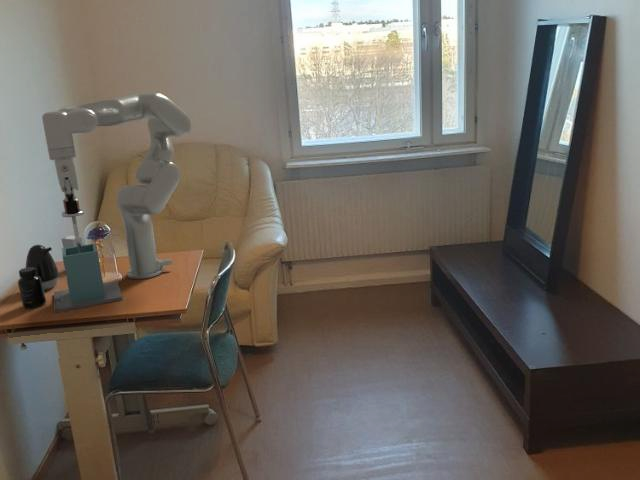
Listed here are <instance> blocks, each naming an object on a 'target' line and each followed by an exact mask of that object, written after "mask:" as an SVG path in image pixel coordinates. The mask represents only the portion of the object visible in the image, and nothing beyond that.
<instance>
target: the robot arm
mask: <svg viewBox="0 0 640 480" xmlns="http://www.w3.org/2000/svg"><path fill="white" fill-rule="evenodd" d="M41 118H42V125H43V130H44V135H45V140H46V145H47V146H46V147H47V150H48V151H47V152H48V157H49V161H54V166H55V171H56V175H57V180H58V184H59V186H60V190H61V192H62V193H64V199H66V202H65V204H66V209H67V214H68V215H69V214H76V213H78V207H77V201H76V200H75V198H77V197H76V196H75V190H76V191H78V190H79V184H78V177H77V172H76V167H75V161H74V159H75V158H77V154H76V148H75V143H74V137H73V134H87V133H90V132H92V131H94V130H95V129H96V128H97V127H115V126H121V125H124V124H125V125H126V124H129V123H132V122H136V121H137V122H138V121H141V120H146V119H147V129H148V132H149V136H150V146H149V149H148V150H147V151H146V153H145V156H144V157H143V159H142V160H141V162H140V163H139V164H138V166H137V169H136V171H135V175H134V176H135V177H134V178H135V180H136V182H137V183H138V184H126V185H124V186H122V187H121V188H120V189H119V190H118V191H117V195H116V204H117V208H118V210H119V212H120V215H121V219H122V222H123V223H122V224H123V229H124V235H125V242H126V247H127V254H128V255H127V257H128V262H129V268H130V269H128V270H127V271H126V276H127V278H129V279H133V280H141V279H149V278H153V277H156V276H158V275H161V274H162V273H164V271H165V270H164V266H170V265H173V262H172V259H171V258H170V259H167V258H163V259H159V257H158V254H157V245H156V240H155V233H154V226H153V221H152V218H151V216H153V215H157V214H159V213H161V212H162V211H163V210H164V208H165V206H166V205H167V204H168V202H169V200H170V198H171V197H172V195H173V193H174V191H175V190H176V188H177V186H178V184H179V181H180V170H179V167H178V166H177V164H176V163H174V162H172V159H173V158H174V153H175V151H174V149H175V148H174V146H173V141H172V137H173V138H181V137H184V136H187V135H188V134H189V133H190V131H191V129H192V123H191V119H190V116H189V115H188V114H187V113H186V112H185V111H184V110H182V108H181V107H179V106H178V105H177V104H176V103H174V101H172V100H171V99H170V98H169V97H167V96H165V95H163V94H161V93H159V92H144V93H143V92H142V93H141V92H140V93H135V94H130V95H129V94H128V95H125V96H121V97H115V98H111V99H110V98H109V99H103V100H98V101H94V102H90V103H89V102H87V103H83V104H77V105H72V106H68V107H63V108H60V109H59V110H56V111H48V112H45V113H43V114H42V117H41ZM73 200H74V201H73ZM150 215H151V216H150Z"/></svg>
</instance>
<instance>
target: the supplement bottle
mask: <svg viewBox="0 0 640 480" xmlns="http://www.w3.org/2000/svg"><path fill="white" fill-rule="evenodd" d="M18 274H19V279H18V281H17V286H18V290H19V295H20V298H21V302H22V303H21V304H22V307H23V308H24V309H28V310H30V309H31V310H32V309H37V308H40V307H42V306H44V305H46V302H47V299H46V296H45V290H44V289H43V285H42V280H41V277H40V276H38V275H36V274H37V272H36V269H35V268H34V267H28V268H26V267H23V268H21V269H20V270H18Z"/></svg>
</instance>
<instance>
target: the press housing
mask: <svg viewBox="0 0 640 480" xmlns="http://www.w3.org/2000/svg"><path fill="white" fill-rule="evenodd" d="M81 249H82V253H79V254H78V250H77V246H75V247H69V248H61V253H62V260H63V265H64V270H65V271H64V272H65V277H66V283H67V287H68V289H64V290H58V291H54V292H53V293H54V295H53V296H54V297H53V298H54V300H53V301H54V303H53V304H54V313H55V314H56V313H60V312H65V311H70V310H71V311H72V310H76V309H81V308H88V307H91V306H97V305H102V304H107V303H112V302H118V301H123V295H122V291H121V288H120V285H119V282H118V280H113V281H107V282H108V283H107V282H104V281H103V276H102V270H101V264H100V257H99V251H98V248H97V244H96V243H95V242H94V243H88V244H83V245H81Z"/></svg>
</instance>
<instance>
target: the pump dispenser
mask: <svg viewBox="0 0 640 480" xmlns="http://www.w3.org/2000/svg"><path fill="white" fill-rule="evenodd" d="M52 249H53V248H52V247H50V246H49V247H47V248H46V246H44V245H42V244H34V245H32V246H31V247H30V248H29V250H28V252H27V255H26V259H25V268H28V267H34V268H35V269H36V272H37V274H36V275H38V276H40V277H41V280H42V285H43V289H44V291H46V290H50V289H51V288H53V287H55V286H56V285H57V283H58V279H59V276H60V274H59V270H58V267H57V265H56V262H55V260H54V258H53V256H52V254H51V253H50V251H52Z"/></svg>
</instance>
